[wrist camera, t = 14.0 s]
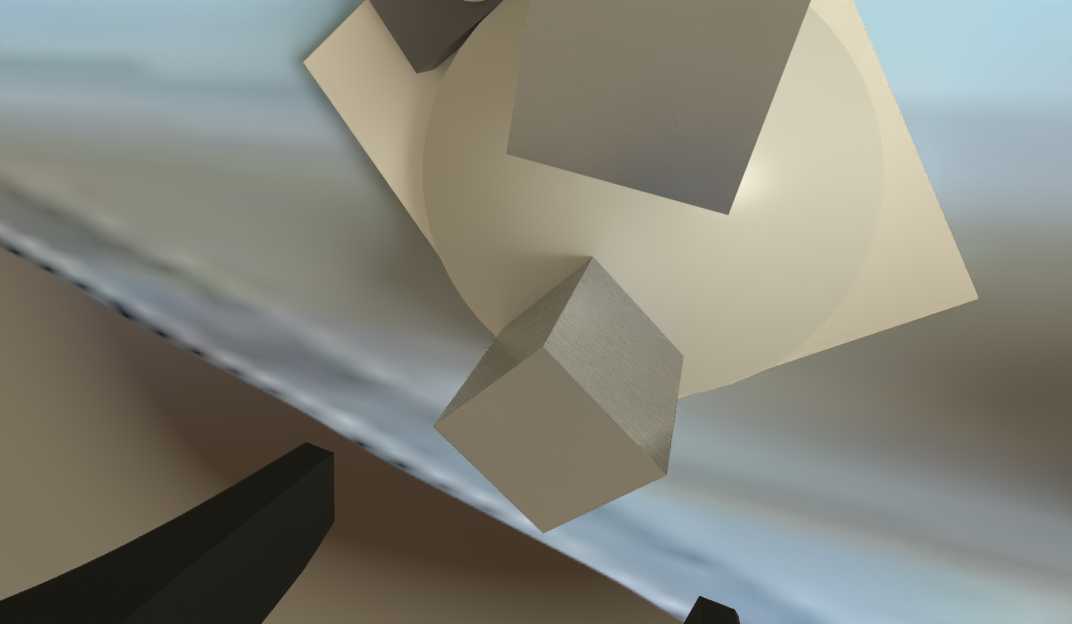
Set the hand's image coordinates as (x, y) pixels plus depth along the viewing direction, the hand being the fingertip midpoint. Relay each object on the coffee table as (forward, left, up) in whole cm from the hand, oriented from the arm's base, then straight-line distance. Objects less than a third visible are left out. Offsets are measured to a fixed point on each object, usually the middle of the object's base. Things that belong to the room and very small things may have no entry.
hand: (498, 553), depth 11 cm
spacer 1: (+6, -6, -8) cm, 12 cm away
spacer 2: (0, 0, -8) cm, 8 cm away
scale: (+3, -3, -10) cm, 11 cm away
